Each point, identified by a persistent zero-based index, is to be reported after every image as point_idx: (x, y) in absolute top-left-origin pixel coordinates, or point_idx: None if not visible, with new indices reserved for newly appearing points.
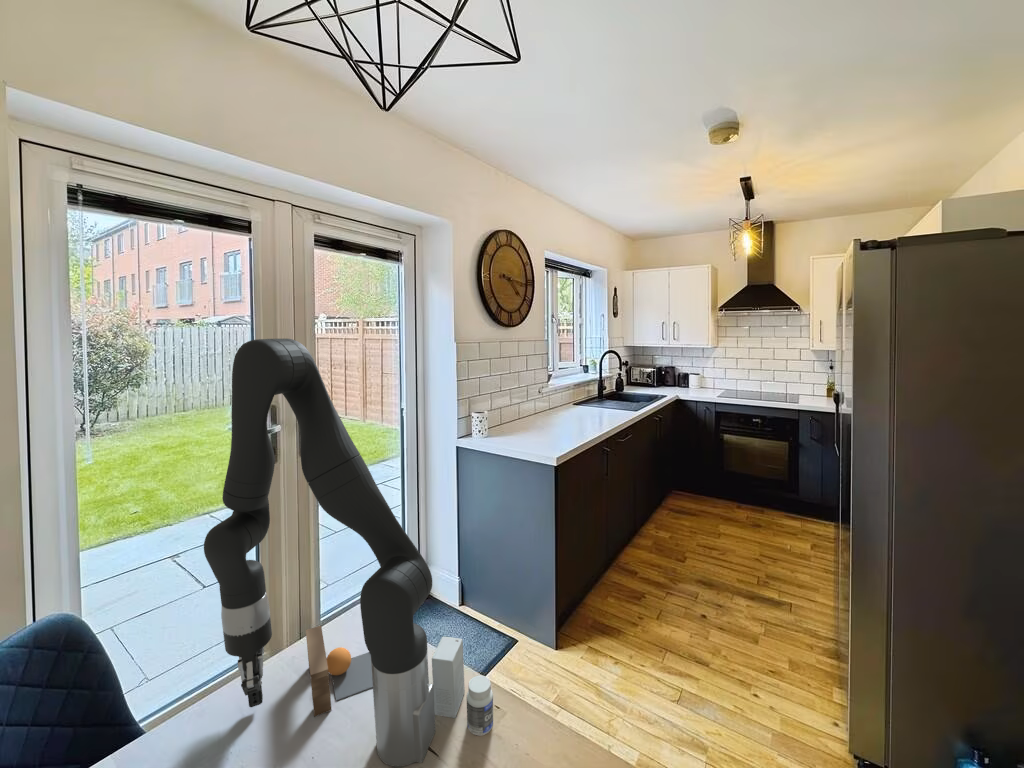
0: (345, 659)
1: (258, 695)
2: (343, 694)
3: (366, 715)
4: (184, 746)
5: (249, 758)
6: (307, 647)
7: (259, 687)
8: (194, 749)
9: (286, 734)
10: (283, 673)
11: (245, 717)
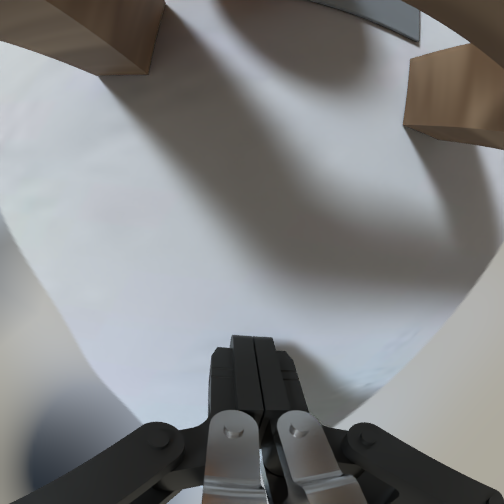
0: None
1: (300, 389)
2: (405, 7)
3: None
4: None
5: (423, 345)
6: (62, 11)
7: (434, 459)
8: None
9: (436, 247)
10: (69, 203)
11: None
